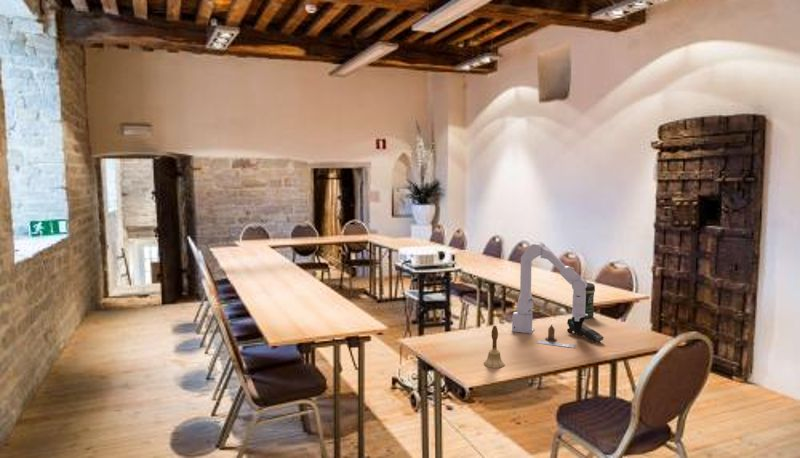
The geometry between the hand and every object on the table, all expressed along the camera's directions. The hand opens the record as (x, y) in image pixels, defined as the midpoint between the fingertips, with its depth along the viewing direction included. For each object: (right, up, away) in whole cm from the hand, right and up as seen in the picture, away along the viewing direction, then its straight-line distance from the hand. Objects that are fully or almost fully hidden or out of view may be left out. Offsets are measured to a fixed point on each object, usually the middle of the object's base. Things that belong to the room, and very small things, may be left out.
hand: (577, 332), depth 246 cm
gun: (+4, -3, +3) cm, 6 cm away
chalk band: (-13, -4, -8) cm, 15 cm away
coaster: (-13, -3, -1) cm, 13 cm away
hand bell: (-45, -6, -34) cm, 57 cm away
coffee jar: (+17, +1, +39) cm, 43 cm away
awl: (-13, -3, -1) cm, 13 cm away
